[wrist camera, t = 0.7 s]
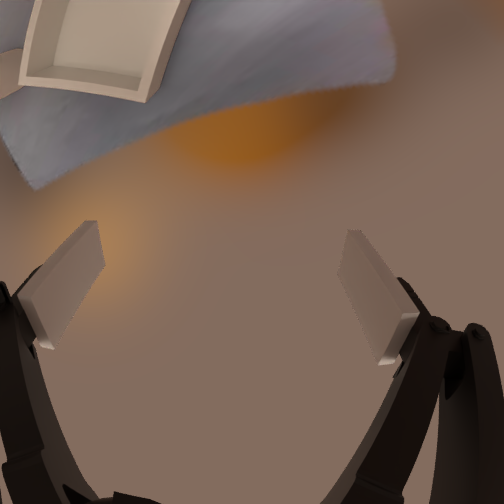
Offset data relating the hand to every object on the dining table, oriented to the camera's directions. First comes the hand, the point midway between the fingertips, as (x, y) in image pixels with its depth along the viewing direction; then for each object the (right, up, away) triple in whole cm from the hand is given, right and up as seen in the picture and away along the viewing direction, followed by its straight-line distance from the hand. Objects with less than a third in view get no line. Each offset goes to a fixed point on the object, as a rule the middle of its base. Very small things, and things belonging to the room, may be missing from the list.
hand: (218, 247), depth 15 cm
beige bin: (-16, +30, +11) cm, 35 cm away
